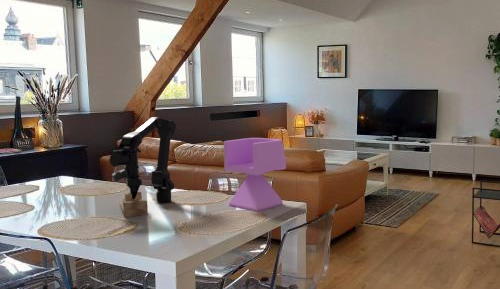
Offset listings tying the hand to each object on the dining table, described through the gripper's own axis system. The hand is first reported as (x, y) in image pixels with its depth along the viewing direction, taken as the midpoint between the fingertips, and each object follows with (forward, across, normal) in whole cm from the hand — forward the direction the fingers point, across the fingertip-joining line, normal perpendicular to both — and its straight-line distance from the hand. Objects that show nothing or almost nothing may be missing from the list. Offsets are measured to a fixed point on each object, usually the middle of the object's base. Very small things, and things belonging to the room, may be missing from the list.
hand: (133, 198), depth 221 cm
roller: (-1, 0, 0) cm, 1 cm away
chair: (+6, +12, +54) cm, 55 cm away
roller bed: (+6, -3, 0) cm, 7 cm away
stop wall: (+6, +8, 0) cm, 10 cm away
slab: (+2, -9, 0) cm, 9 cm away
